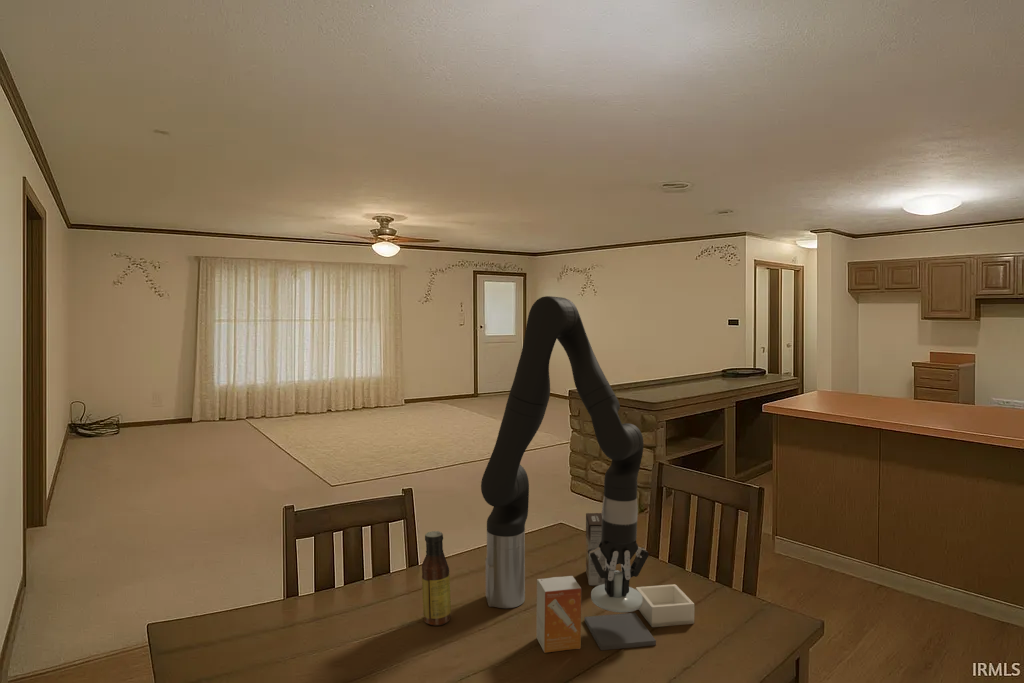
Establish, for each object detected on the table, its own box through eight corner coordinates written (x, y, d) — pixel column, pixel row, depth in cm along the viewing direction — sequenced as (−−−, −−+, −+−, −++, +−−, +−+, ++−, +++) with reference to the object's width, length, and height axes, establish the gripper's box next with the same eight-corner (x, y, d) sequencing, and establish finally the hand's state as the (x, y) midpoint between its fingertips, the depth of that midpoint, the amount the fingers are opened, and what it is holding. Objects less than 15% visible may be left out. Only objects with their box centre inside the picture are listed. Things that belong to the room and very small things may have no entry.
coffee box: (585, 570, 163) (585, 512, 162) (608, 570, 163) (609, 512, 162) (588, 586, 154) (588, 524, 153) (613, 586, 154) (614, 524, 153)
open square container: (651, 627, 134) (652, 607, 133) (635, 605, 143) (635, 587, 143) (694, 623, 135) (694, 603, 135) (675, 602, 145) (675, 584, 145)
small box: (544, 654, 123) (544, 591, 122) (535, 637, 129) (536, 578, 129) (581, 649, 125) (582, 587, 124) (571, 633, 131) (572, 574, 130)
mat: (600, 650, 124) (600, 645, 124) (584, 621, 136) (584, 616, 136) (655, 645, 126) (655, 640, 126) (635, 616, 138) (635, 612, 138)
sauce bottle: (456, 616, 138) (455, 531, 137) (441, 629, 133) (441, 540, 132) (431, 610, 141) (431, 527, 140) (416, 623, 135) (416, 536, 134)
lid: (599, 614, 125) (600, 585, 124) (584, 589, 136) (585, 563, 135) (650, 610, 127) (651, 583, 126) (631, 586, 137) (632, 561, 137)
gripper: (593, 524, 125) (590, 605, 126) (656, 522, 127) (653, 601, 128) (583, 511, 133) (581, 588, 134) (643, 510, 135) (640, 585, 136)
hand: (616, 594), depth 131 cm, fingers closed on lid, 2 cm apart
